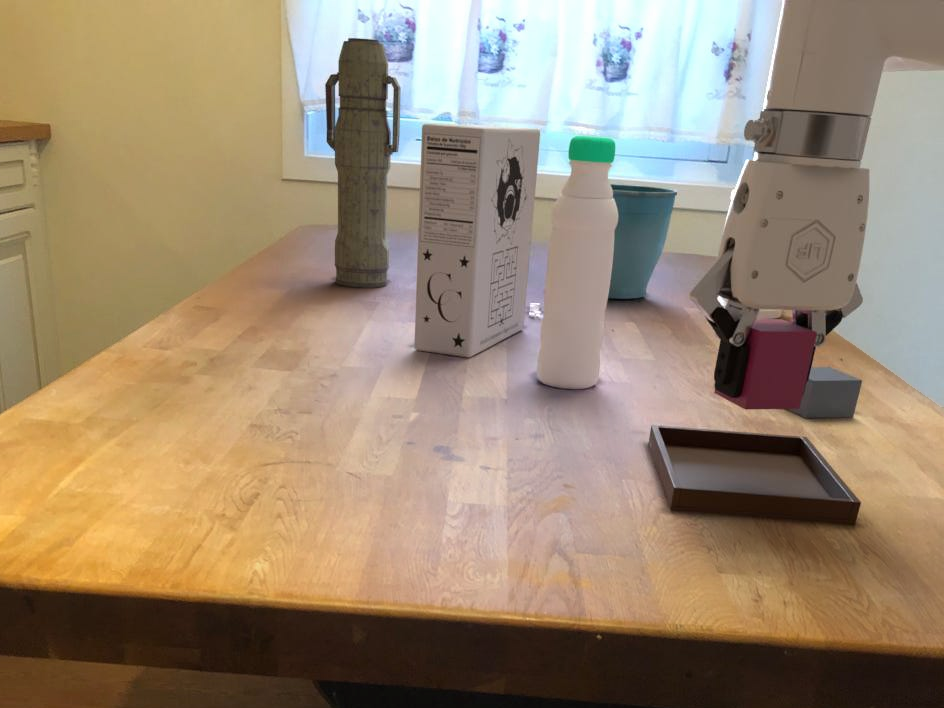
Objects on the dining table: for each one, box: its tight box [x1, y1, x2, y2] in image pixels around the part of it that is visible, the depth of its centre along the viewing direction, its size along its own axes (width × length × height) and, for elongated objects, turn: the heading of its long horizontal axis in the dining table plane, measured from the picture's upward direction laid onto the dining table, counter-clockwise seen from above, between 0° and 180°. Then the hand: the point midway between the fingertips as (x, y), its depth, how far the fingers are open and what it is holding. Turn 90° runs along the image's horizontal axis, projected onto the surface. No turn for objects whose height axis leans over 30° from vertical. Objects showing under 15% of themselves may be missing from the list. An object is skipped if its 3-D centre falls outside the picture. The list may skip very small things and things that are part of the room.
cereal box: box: [414, 123, 541, 359], centre depth 124 cm, size 22×8×25 cm, turn 159°
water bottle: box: [536, 135, 618, 390], centre depth 106 cm, size 7×7×25 cm
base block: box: [787, 366, 863, 419], centre depth 107 cm, size 6×6×4 cm
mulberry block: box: [713, 318, 817, 410], centre depth 79 cm, size 5×5×6 cm
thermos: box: [324, 37, 402, 289], centre depth 156 cm, size 9×12×35 cm
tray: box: [647, 424, 862, 526], centre depth 83 cm, size 14×17×2 cm
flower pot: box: [608, 183, 678, 300], centre depth 166 cm, size 18×18×17 cm
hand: (758, 390), depth 80 cm, fingers closed on mulberry block, 5 cm apart
